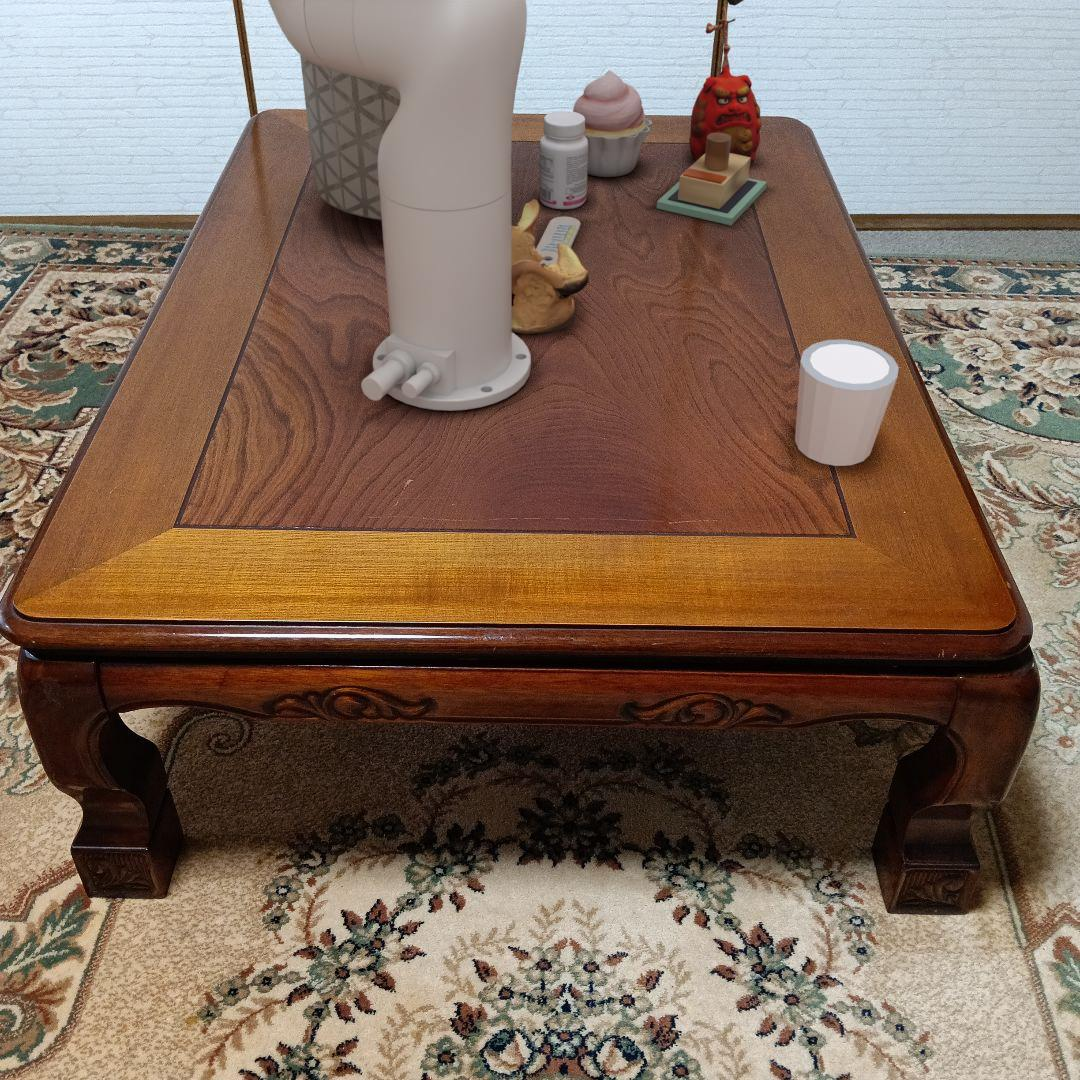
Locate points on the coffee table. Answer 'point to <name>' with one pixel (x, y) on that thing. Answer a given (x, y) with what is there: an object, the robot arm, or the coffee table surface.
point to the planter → (347, 136)
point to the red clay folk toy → (726, 108)
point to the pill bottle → (563, 161)
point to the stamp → (714, 174)
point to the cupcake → (612, 125)
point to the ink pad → (722, 215)
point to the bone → (542, 280)
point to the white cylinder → (842, 400)
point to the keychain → (557, 237)
